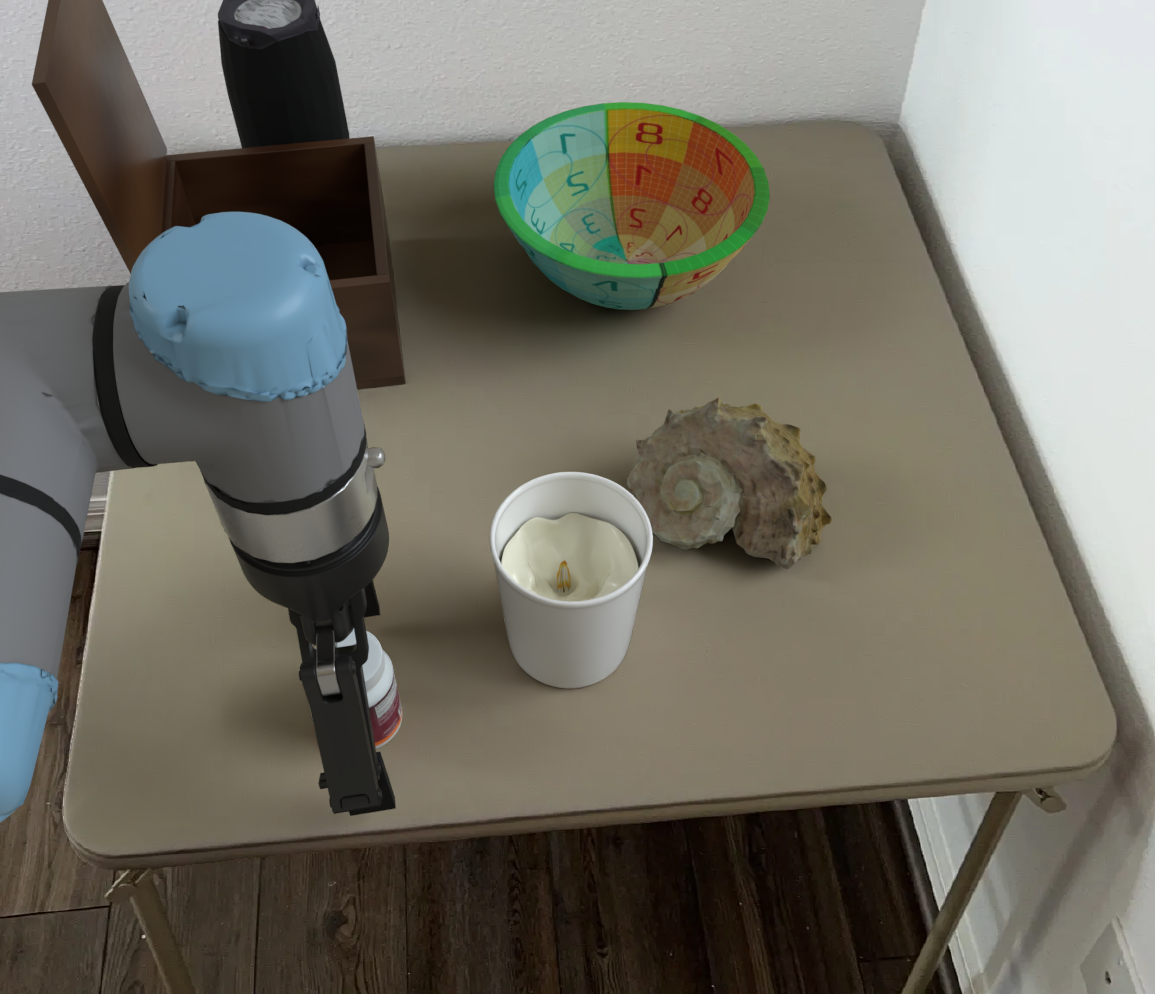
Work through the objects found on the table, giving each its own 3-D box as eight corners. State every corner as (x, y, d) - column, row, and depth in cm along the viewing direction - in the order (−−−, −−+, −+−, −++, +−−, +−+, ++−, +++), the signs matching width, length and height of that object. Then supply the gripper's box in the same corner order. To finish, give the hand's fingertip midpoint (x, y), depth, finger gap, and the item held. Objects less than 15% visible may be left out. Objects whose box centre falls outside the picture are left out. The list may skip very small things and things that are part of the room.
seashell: (631, 464, 88) (623, 378, 80) (820, 459, 87) (832, 371, 79) (629, 586, 82) (621, 506, 73) (834, 583, 80) (848, 501, 72)
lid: (73, -68, 76) (61, -67, 76) (44, 82, 66) (31, 84, 66) (167, 149, 91) (157, 151, 91) (156, 301, 80) (145, 303, 80)
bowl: (498, 195, 106) (494, 101, 98) (736, 192, 106) (751, 98, 98) (498, 370, 92) (492, 277, 84) (770, 365, 93) (789, 272, 85)
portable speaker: (262, 177, 107) (212, -24, 91) (362, 173, 107) (329, -27, 92) (253, 237, 101) (199, 34, 86) (359, 232, 102) (323, 30, 86)
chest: (389, 239, 102) (373, 135, 93) (405, 383, 91) (389, 282, 82) (198, 259, 100) (164, 155, 91) (192, 408, 89) (153, 307, 80)
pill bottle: (316, 738, 72) (292, 676, 66) (352, 676, 75) (332, 610, 68) (382, 764, 71) (364, 703, 65) (416, 701, 74) (402, 636, 67)
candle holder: (485, 590, 79) (475, 486, 70) (619, 563, 81) (628, 458, 71) (513, 714, 74) (507, 619, 64) (658, 683, 75) (673, 586, 66)
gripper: (400, 727, 48) (444, 889, 65) (364, 317, 62) (408, 537, 79) (219, 755, 47) (312, 912, 64) (226, 333, 62) (300, 552, 79)
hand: (365, 704), depth 72 cm, fingers open, 13 cm apart
